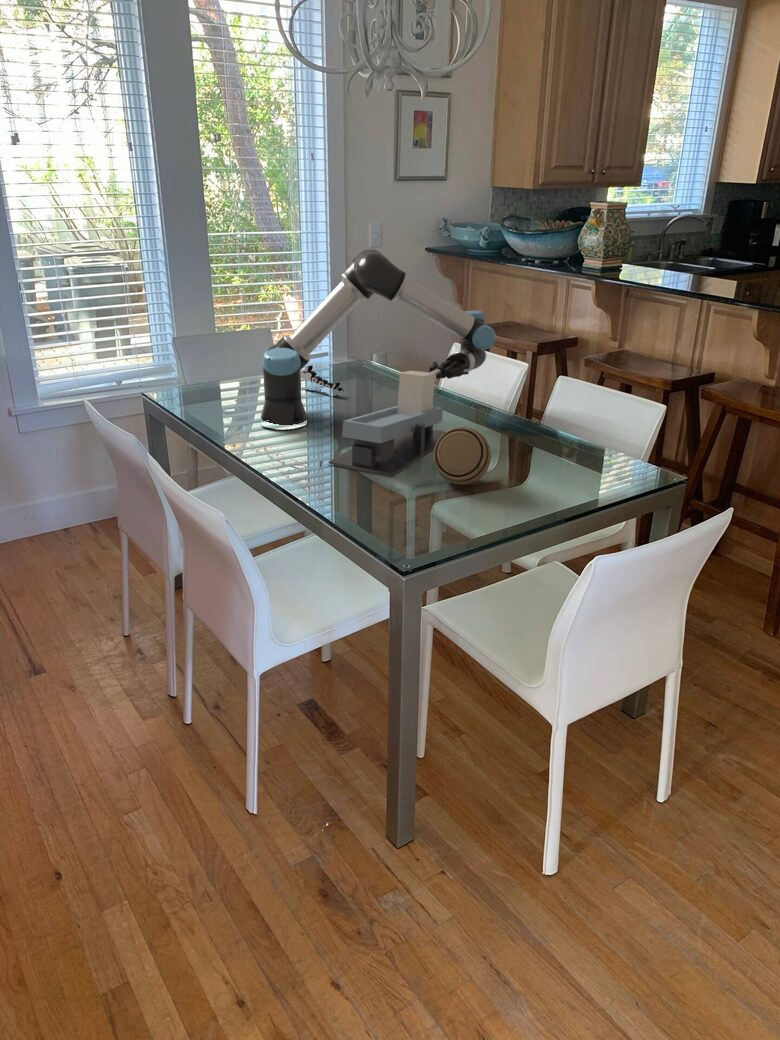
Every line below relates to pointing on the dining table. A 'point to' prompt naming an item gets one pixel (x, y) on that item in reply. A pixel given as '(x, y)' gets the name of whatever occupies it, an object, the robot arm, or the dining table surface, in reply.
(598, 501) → the dining table surface
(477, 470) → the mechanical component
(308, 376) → the logo
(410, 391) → the block
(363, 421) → the grey tray on legs
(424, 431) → the beam stand
